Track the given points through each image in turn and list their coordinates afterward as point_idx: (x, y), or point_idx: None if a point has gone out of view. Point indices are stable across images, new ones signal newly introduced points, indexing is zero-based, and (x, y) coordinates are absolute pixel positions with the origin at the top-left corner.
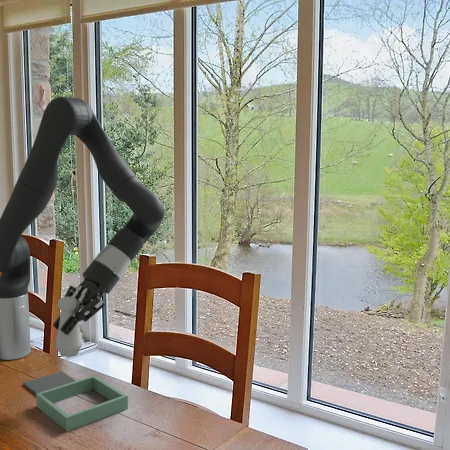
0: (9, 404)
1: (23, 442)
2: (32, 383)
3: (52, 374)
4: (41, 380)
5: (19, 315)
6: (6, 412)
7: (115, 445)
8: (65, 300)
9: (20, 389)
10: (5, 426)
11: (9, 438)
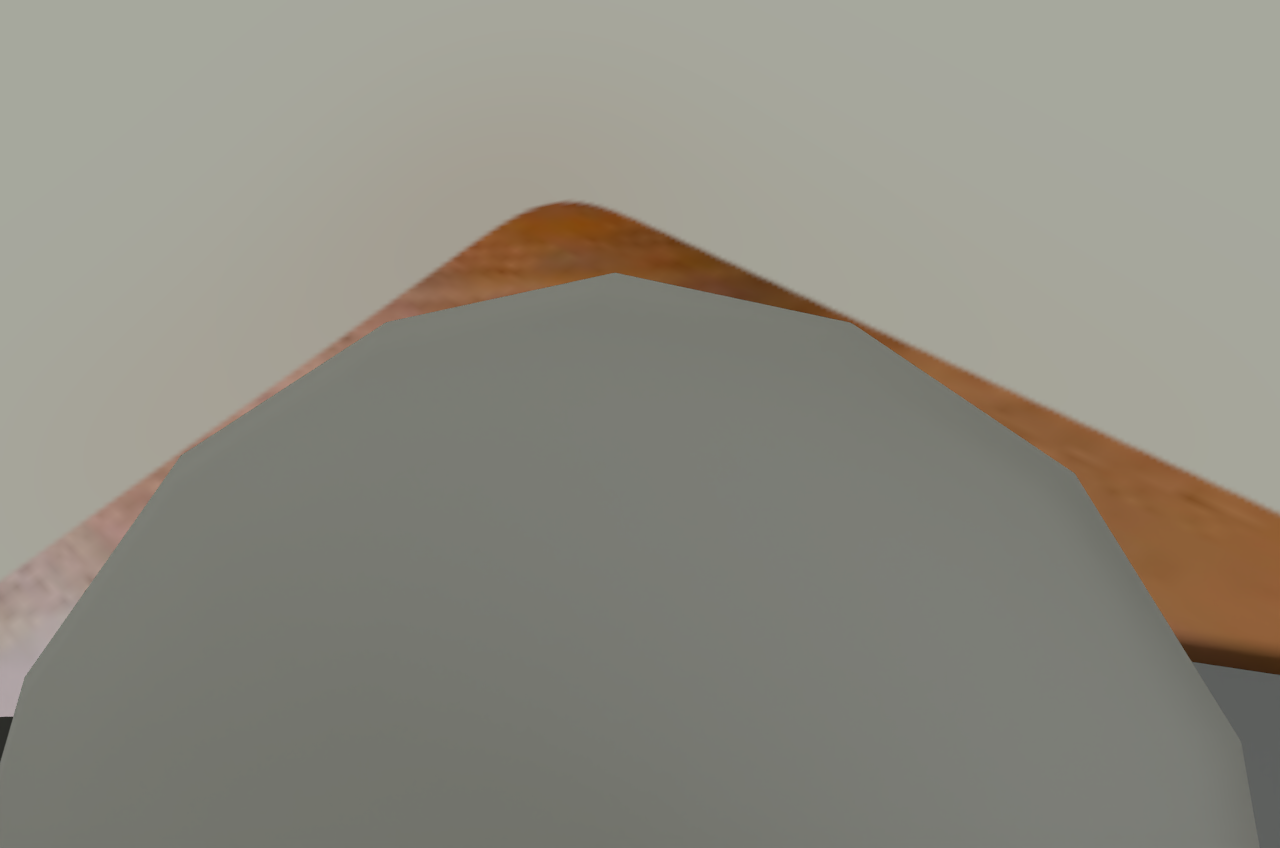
0: (1019, 429)
1: (499, 256)
2: (1243, 725)
3: None
4: (1256, 823)
5: None
6: (915, 360)
7: (25, 563)
8: (318, 458)
9: (1229, 617)
10: (743, 274)
11: (599, 229)
